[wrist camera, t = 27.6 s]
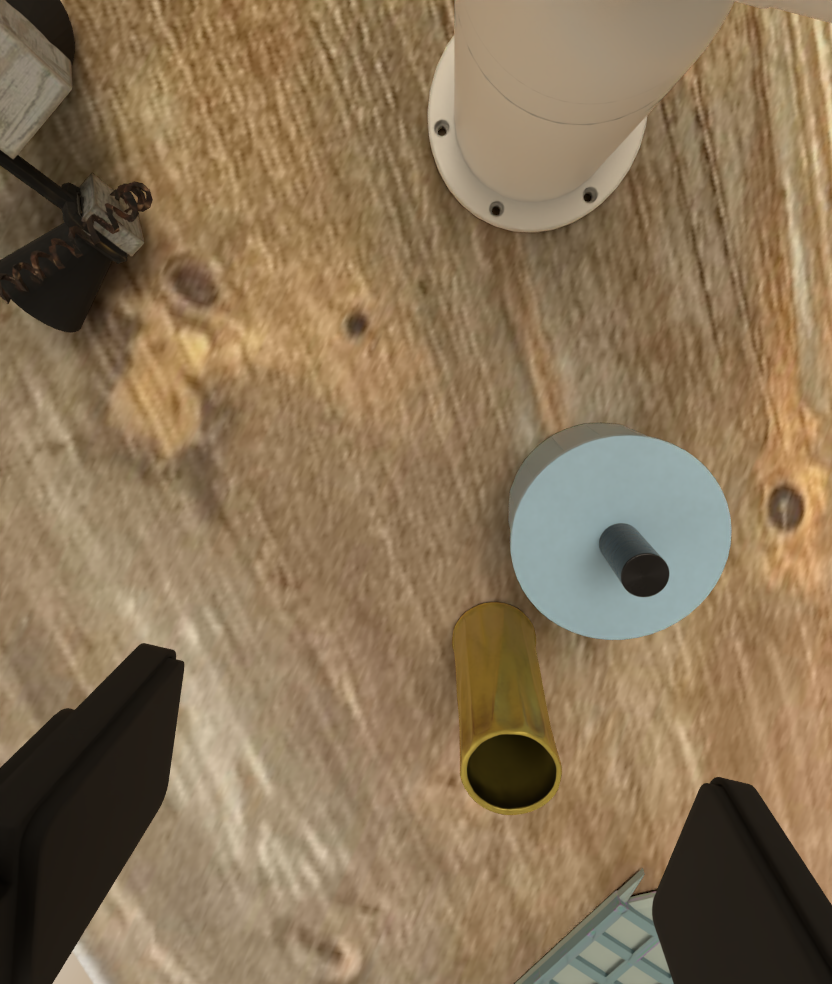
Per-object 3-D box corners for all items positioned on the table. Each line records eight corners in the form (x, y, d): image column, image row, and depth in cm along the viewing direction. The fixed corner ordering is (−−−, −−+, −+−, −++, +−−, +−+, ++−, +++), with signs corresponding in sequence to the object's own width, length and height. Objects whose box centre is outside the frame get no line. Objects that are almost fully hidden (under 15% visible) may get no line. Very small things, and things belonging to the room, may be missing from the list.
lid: (566, 397, 35) (589, 411, 29) (765, 483, 36) (826, 514, 30) (475, 585, 38) (479, 632, 32) (658, 661, 39) (695, 720, 33)
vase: (484, 585, 44) (498, 701, 31) (552, 630, 45) (596, 764, 31) (436, 647, 46) (428, 784, 32) (503, 689, 46) (523, 842, 33)
